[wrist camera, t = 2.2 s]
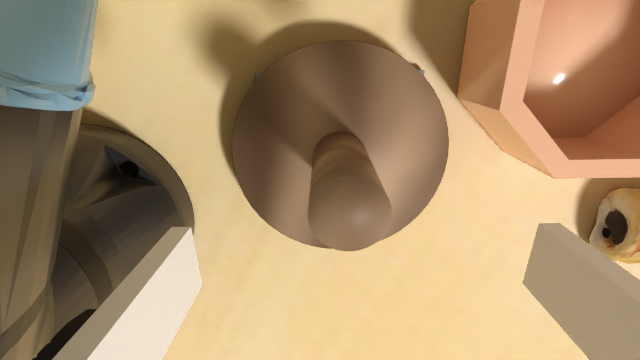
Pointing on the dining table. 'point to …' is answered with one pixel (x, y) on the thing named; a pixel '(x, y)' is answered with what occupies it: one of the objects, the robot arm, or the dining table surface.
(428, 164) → the lid
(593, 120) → the bowl
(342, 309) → the dining table surface
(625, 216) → the pastry
